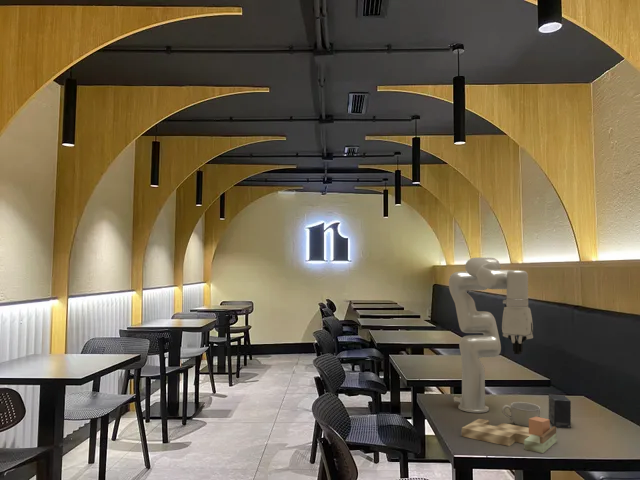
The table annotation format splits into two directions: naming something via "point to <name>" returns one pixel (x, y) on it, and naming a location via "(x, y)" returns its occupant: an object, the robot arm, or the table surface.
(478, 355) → the robot arm
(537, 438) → the board
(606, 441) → the table surface
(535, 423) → the block
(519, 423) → the teacup
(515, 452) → the table surface
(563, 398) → the small box
